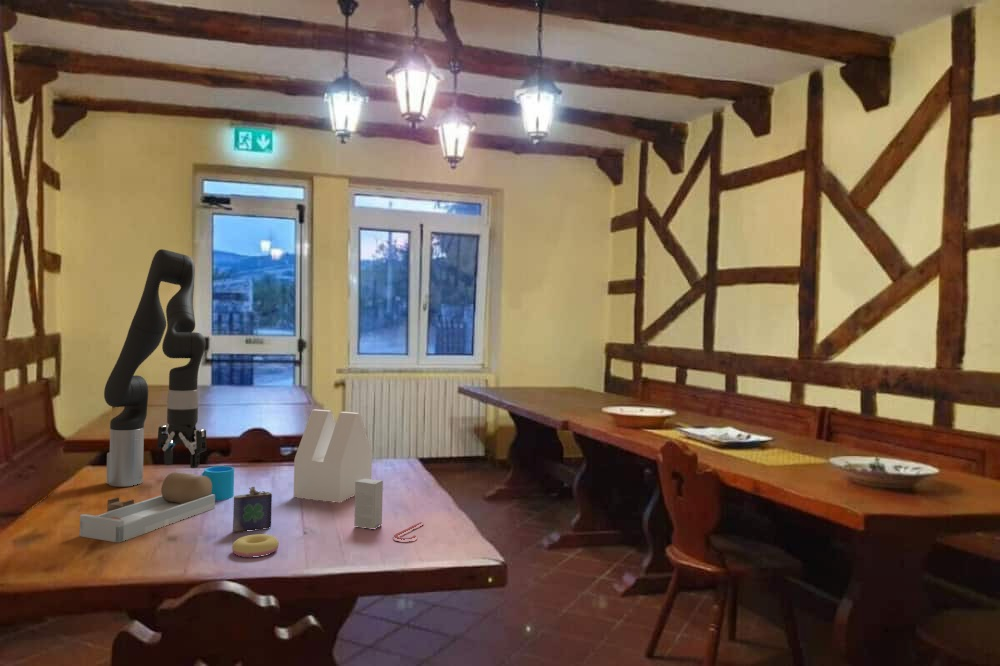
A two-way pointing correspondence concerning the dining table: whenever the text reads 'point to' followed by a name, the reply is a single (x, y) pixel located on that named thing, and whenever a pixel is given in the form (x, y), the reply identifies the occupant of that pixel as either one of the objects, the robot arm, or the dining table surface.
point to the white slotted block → (331, 457)
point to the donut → (255, 545)
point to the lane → (153, 510)
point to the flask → (252, 511)
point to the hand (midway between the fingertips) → (181, 466)
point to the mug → (221, 481)
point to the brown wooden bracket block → (117, 504)
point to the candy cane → (405, 531)
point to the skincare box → (368, 503)
